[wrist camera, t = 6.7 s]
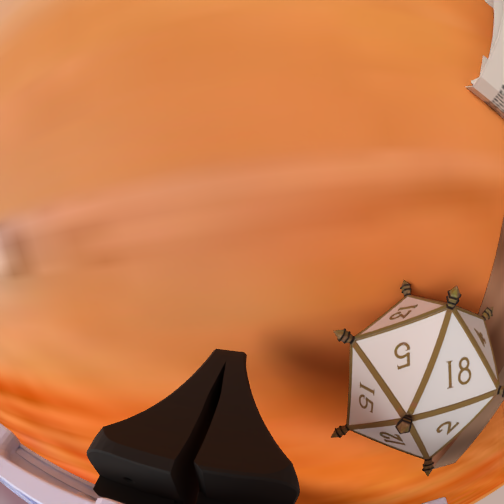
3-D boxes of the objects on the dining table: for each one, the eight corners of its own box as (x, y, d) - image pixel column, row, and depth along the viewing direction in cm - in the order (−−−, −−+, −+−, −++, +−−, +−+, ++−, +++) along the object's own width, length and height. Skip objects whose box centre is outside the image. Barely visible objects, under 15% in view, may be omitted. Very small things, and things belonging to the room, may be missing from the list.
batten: (440, 428, 17) (454, 462, 13) (417, 432, 17) (430, 469, 13) (530, 192, 11) (574, 206, 7) (508, 184, 11) (555, 197, 7)
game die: (397, 275, 17) (542, 268, 8) (393, 396, 16) (518, 428, 7) (279, 290, 13) (504, 299, 4) (284, 444, 13) (431, 542, 4)
